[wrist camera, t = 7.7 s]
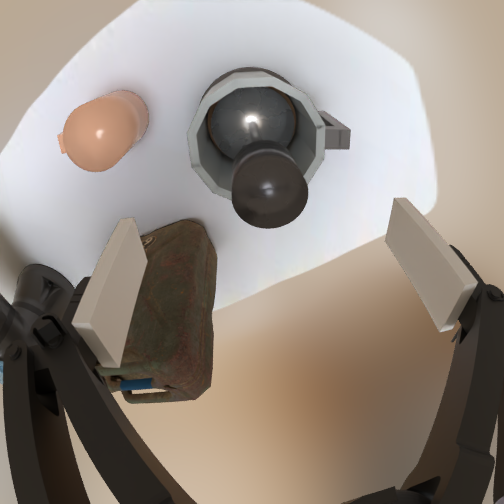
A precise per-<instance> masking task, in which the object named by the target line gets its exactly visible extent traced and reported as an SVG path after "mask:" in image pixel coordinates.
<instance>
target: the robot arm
mask: <svg viewBox="0 0 504 504" xmlns="http://www.w3.org/2000/svg"><path fill="white" fill-rule="evenodd" d="M385 242H386V244H387V245H388V246H389V248H390V249H391V251H392V252H393V254H394V256H395V257H396V259H397V261H398V262H399V263H400V265H401V267H402V268H403V270H404V272H405V273H406V275H407V276H408V278H409V279H410V281H411V283H412V285H413V286H414V288H415V290H416V291H417V293H418V295H419V296H420V298H421V300H422V301H423V303H424V305H425V306H426V308H427V310H428V312H429V314H430V316H431V317H432V319H433V321H434V323H435V325H436V326H437V328H438V330H439V332H443V331H446V330H450V329H453V327H454V325H455V324H456V322H457V320H459V322H460V323H461V326H460V328H459V329H458V331H457V333H456V334H455V336H454V337H453V339H452V342H454V340H455V339H456V338H457V340H456V345H455V350H454V354H453V359H452V363H451V367H450V371H449V375H448V379H447V383H446V387H445V390H444V393H443V397H442V400H441V403H440V406H439V409H438V412H437V416H436V418H435V421H434V424H433V427H432V430H431V432H430V435H429V438H428V440H427V443H426V445H425V448H424V450H423V453H422V455H421V457H420V460H419V462H418V464H417V465H416V467H415V468H414V470H413V471H412V472H411V473H410V474H409V476H408V477H407V478H406V480H405V482H404V484H403V485H402V487H401V489H400V490H395V486H394V487H391V488H388V489H385V490H382V491H378V492H375V493H372V494H368V495H365V496H362V497H359V498H356V499H353V500H350V501H347V502H343V503H341V504H482V501H483V499H484V496H485V493H486V490H487V488H488V485H489V482H490V479H491V476H492V472H493V469H494V464H495V460H494V457H493V456H492V455H490V452H489V451H490V446H491V442H492V438H493V433H494V429H495V424H496V419H497V414H498V437H497V455H496V466H495V476H494V489H493V493H494V494H493V501H494V504H504V294H503V292H502V291H501V290H500V289H499V288H497V287H495V286H494V285H490V284H489V285H486V284H485V283H484V282H483V280H482V279H481V278H480V276H479V275H478V274H477V272H476V271H475V270H474V268H473V267H472V266H471V265H470V263H469V262H468V261H467V260H466V259H465V257H464V256H463V255H462V253H461V252H460V251H459V250H457V249H456V248H455V247H454V246H452V245H448V244H447V242H446V241H445V240H444V239H443V238H442V236H441V235H440V234H439V233H438V232H437V231H436V230H435V228H434V227H433V226H432V225H431V224H430V223H429V222H428V221H427V219H426V218H425V217H424V216H423V215H422V214H421V213H420V212H419V211H418V210H417V209H416V208H415V207H414V206H413V204H412V203H411V202H410V201H409V200H408V199H407V198H394V201H393V206H392V211H391V216H390V220H389V225H388V230H387V234H386V238H385ZM147 262H148V261H147V258H146V255H145V252H144V248H143V245H142V242H141V239H140V236H139V232H138V229H137V226H136V222H135V219H134V217H133V218H125V219H120V221H119V222H118V224H117V226H116V228H115V230H114V232H113V234H112V236H111V238H110V239H109V241H108V243H107V245H106V247H105V249H104V251H103V253H102V255H101V257H100V259H99V261H98V264H97V266H96V268H95V270H94V272H93V274H92V276H91V277H84V278H83V279H82V280H81V282H80V283H79V284H78V285H77V287H76V289H74V288H73V286H72V285H71V284H70V283H69V281H68V280H67V279H65V278H64V277H63V276H62V275H61V274H59V273H58V272H56V271H55V270H53V269H51V268H49V267H46V266H43V265H38V264H33V265H29V266H27V267H25V268H24V270H23V271H22V273H21V274H20V276H19V278H18V281H17V288H16V291H15V296H14V300H13V303H12V305H10V304H9V302H8V301H7V300H6V299H5V298H4V297H3V296H2V295H1V294H0V383H1V384H3V406H4V422H5V433H6V443H7V450H8V458H9V464H10V469H11V475H12V480H13V484H14V489H15V493H16V497H17V501H18V504H90V501H89V498H88V496H87V493H86V490H85V487H84V484H83V481H82V478H81V475H80V472H79V469H78V465H77V462H76V458H75V455H74V451H73V447H72V443H71V439H70V435H69V431H68V426H67V422H66V417H65V412H64V408H65V409H66V412H67V414H68V416H69V418H70V421H71V423H72V425H73V427H74V429H75V431H76V433H77V435H78V437H79V439H80V440H81V442H82V444H83V446H84V448H85V450H86V451H87V453H88V455H89V457H90V458H91V460H92V462H93V463H94V465H95V467H96V469H97V470H98V472H99V473H100V475H101V477H102V478H103V480H104V481H105V483H106V484H107V486H108V487H109V489H110V490H111V492H112V493H113V495H114V496H115V498H116V499H117V500H118V502H119V503H120V504H197V503H196V502H195V501H194V500H193V499H192V498H191V497H190V496H189V495H188V494H187V493H186V492H185V491H184V490H183V489H182V487H181V486H180V485H179V484H178V483H177V482H176V481H175V480H174V478H173V477H172V476H171V475H170V474H169V473H168V471H167V470H166V469H165V468H164V467H163V466H162V464H161V463H160V462H159V460H158V459H157V458H156V457H155V456H154V454H153V453H152V452H151V450H150V449H149V448H148V446H147V445H146V444H145V442H144V441H143V440H142V439H141V437H140V436H139V434H138V433H137V432H136V430H135V429H134V427H133V426H132V425H131V423H130V422H129V420H128V419H127V417H126V416H125V414H124V413H123V411H122V410H121V408H120V407H119V405H118V403H117V402H116V400H115V399H114V397H113V395H112V394H111V392H110V391H109V389H108V387H107V386H106V384H105V382H104V381H103V379H102V377H101V375H100V374H99V372H98V370H97V369H96V368H95V365H96V361H97V360H98V361H99V362H100V364H101V365H102V366H103V367H111V368H120V364H121V359H122V355H123V350H124V346H125V342H126V338H127V334H128V330H129V326H130V322H131V318H132V314H133V310H134V306H135V303H136V299H137V296H138V292H139V289H140V285H141V282H142V278H143V275H144V272H145V268H146V265H147ZM63 405H64V406H63Z"/></svg>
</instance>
